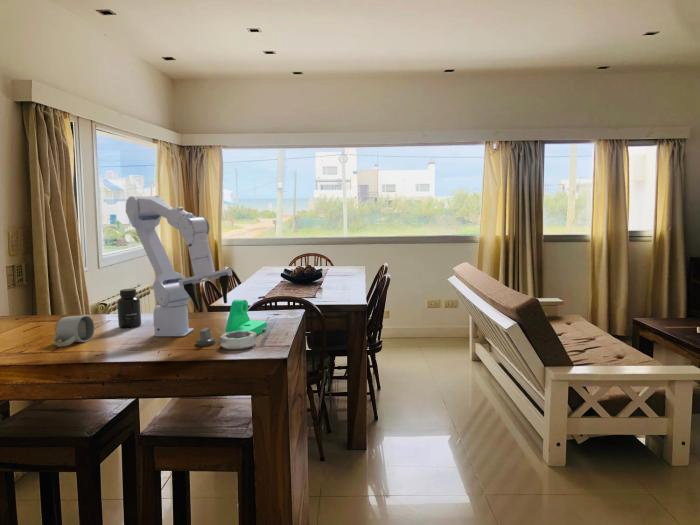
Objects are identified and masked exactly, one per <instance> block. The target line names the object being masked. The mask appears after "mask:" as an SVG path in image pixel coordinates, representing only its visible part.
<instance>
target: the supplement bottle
mask: <svg viewBox="0 0 700 525" xmlns="http://www.w3.org/2000/svg"><path fill="white" fill-rule="evenodd" d="M119 296H120V298H119V299H118V300H117V302H116V306H117V319H118V320H117V321H118V327H119V328H120V329H126V328H129V329H134V328H135V327H136V328H139V327H141V325H142V315H141V314H142V311H141V309H142V308H141V300H140V298H139V297H138V296H137V289H136V288H123V289H120V290H119ZM126 330H127V329H126Z"/></svg>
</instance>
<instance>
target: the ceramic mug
mask: <svg viewBox="0 0 700 525" xmlns="http://www.w3.org/2000/svg"><path fill="white" fill-rule="evenodd" d="M54 329H55V330H54V331H55V337H54V338H53V341H52V342H53V343H54V346H55V345H57V346H65V347H67V346H66V345H68V346H70V345H71V344H73V343H86V342H85V341H87V342H89V341H91V339H92V338H93V336H94V334H95V324H94V320H93V318H92V317H91V316H89V315H87V314H86V315H85V314H84V315H83V314H82V315H72V316H71V315H70V316H65V317H61V318H60V319H59V320H58V321H56V325H55V327H54ZM88 340H89V341H88ZM59 341H62V342H59ZM57 346H56V347H57Z"/></svg>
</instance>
